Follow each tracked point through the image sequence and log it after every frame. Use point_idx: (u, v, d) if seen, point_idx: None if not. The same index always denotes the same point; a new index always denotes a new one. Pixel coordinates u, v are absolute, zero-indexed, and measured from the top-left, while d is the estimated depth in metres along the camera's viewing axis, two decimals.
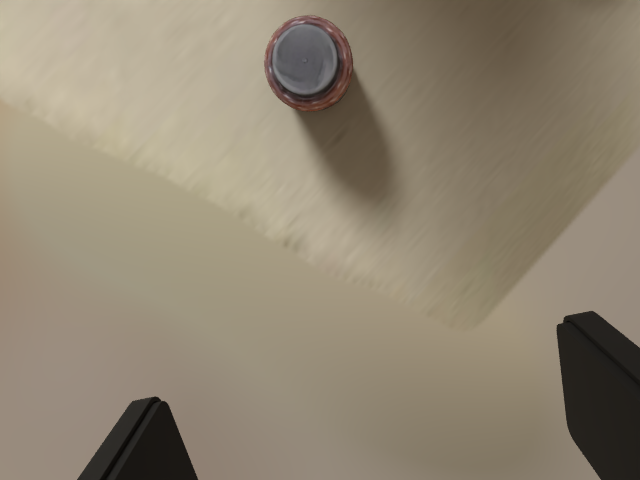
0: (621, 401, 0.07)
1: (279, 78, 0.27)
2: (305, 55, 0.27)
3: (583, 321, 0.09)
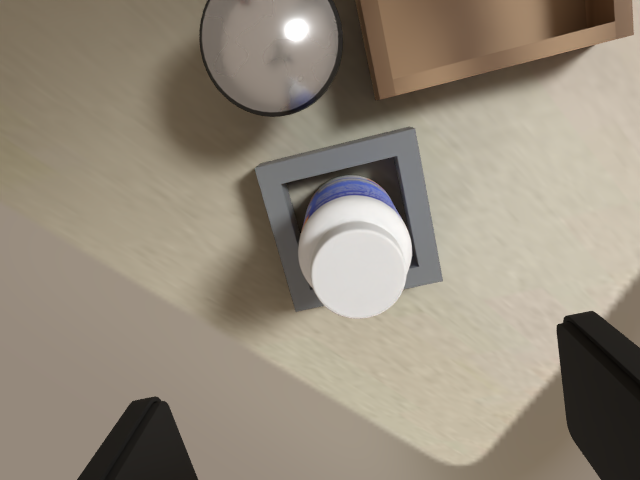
0: (621, 401, 0.07)
1: None
2: None
3: (583, 321, 0.09)
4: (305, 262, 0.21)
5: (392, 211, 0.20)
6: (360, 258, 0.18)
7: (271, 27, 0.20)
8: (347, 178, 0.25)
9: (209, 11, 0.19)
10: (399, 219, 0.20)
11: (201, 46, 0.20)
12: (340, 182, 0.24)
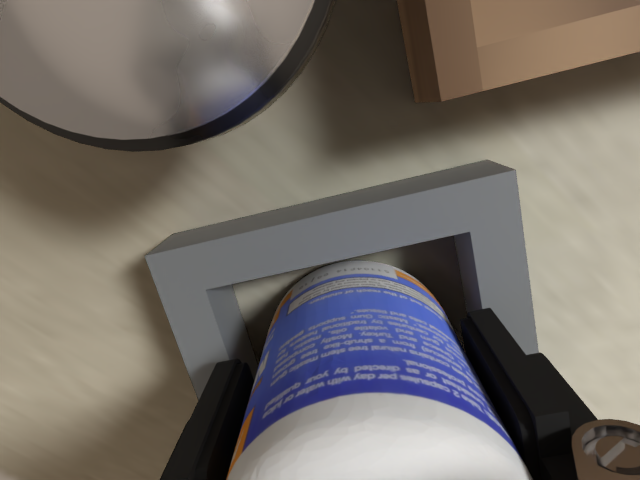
0: (492, 385, 0.09)
1: None
2: None
3: (478, 316, 0.10)
4: None
5: (502, 457, 0.06)
6: None
7: None
8: (354, 277, 0.11)
9: None
10: None
11: None
12: (338, 294, 0.10)
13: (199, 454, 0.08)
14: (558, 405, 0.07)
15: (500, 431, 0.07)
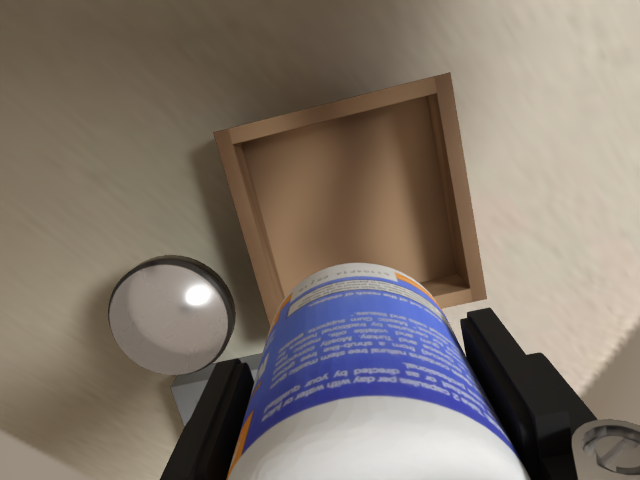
0: (492, 385, 0.09)
1: None
2: None
3: (478, 316, 0.10)
4: None
5: (502, 460, 0.06)
6: None
7: (169, 312, 0.23)
8: (354, 280, 0.11)
9: (115, 300, 0.23)
10: None
11: (110, 322, 0.23)
12: (338, 297, 0.10)
13: (199, 454, 0.08)
14: (557, 406, 0.07)
15: (500, 435, 0.07)
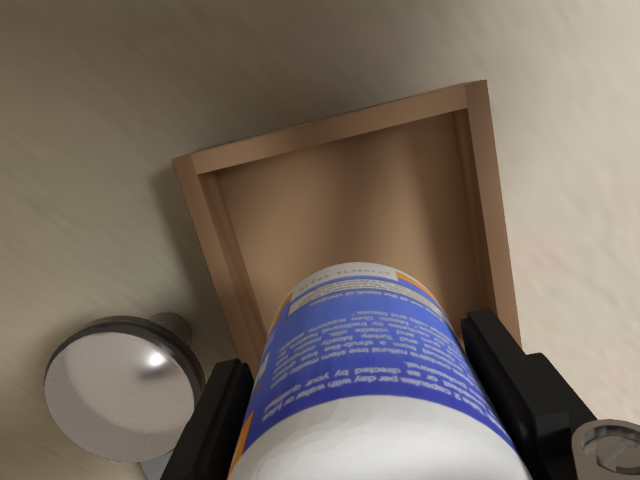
0: (492, 385, 0.09)
1: None
2: None
3: (478, 316, 0.10)
4: None
5: (504, 460, 0.06)
6: None
7: (118, 390, 0.18)
8: (354, 279, 0.11)
9: (50, 375, 0.18)
10: None
11: None
12: (338, 296, 0.10)
13: (199, 454, 0.08)
14: (558, 405, 0.07)
15: (502, 434, 0.07)
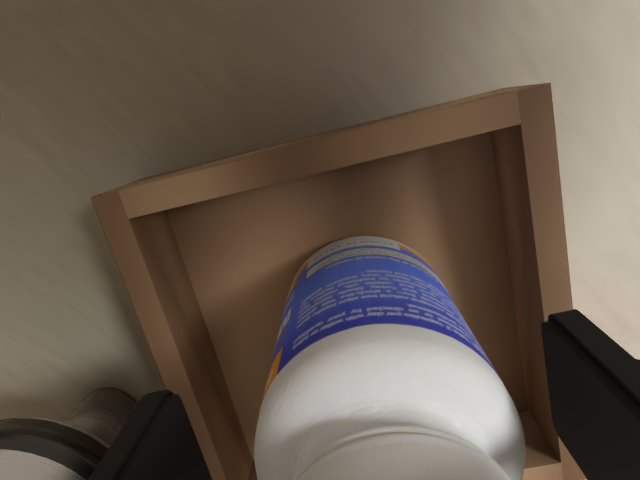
0: (599, 396, 0.08)
1: None
2: None
3: (566, 319, 0.09)
4: None
5: (483, 370, 0.08)
6: None
7: None
8: (362, 248, 0.13)
9: None
10: (501, 390, 0.08)
11: None
12: (350, 260, 0.12)
13: None
14: None
15: (483, 357, 0.09)
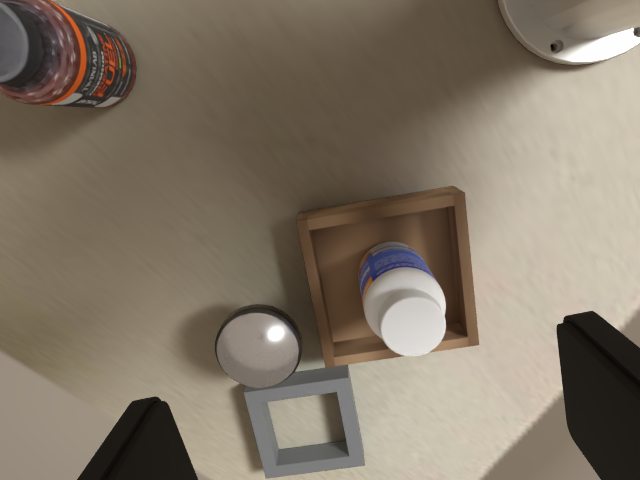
0: (621, 401, 0.07)
1: None
2: None
3: (583, 321, 0.09)
4: (370, 313, 0.29)
5: (434, 281, 0.29)
6: (416, 316, 0.27)
7: (259, 345, 0.33)
8: (394, 246, 0.34)
9: (222, 335, 0.33)
10: (439, 287, 0.29)
11: (215, 349, 0.33)
12: (390, 250, 0.33)
13: None
14: None
15: (435, 279, 0.30)
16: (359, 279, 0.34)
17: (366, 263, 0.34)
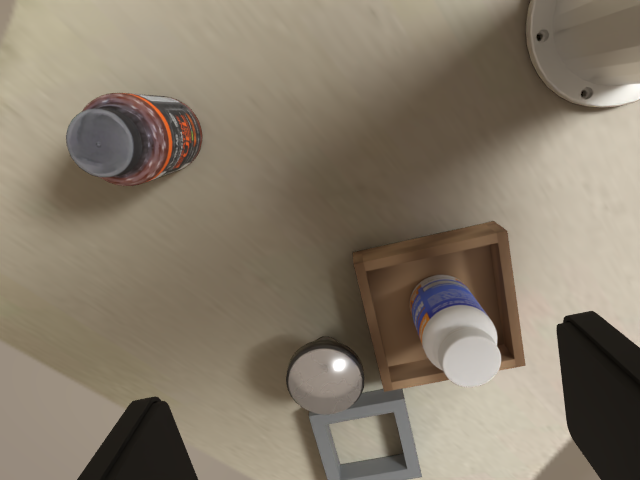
0: (621, 401, 0.07)
1: (77, 116, 0.26)
2: (103, 144, 0.26)
3: (583, 321, 0.09)
4: (429, 348, 0.33)
5: (486, 316, 0.32)
6: (474, 352, 0.30)
7: (326, 377, 0.36)
8: (443, 280, 0.37)
9: (293, 370, 0.36)
10: (490, 321, 0.32)
11: (287, 382, 0.37)
12: (440, 285, 0.36)
13: None
14: None
15: (486, 314, 0.33)
16: (412, 312, 0.38)
17: (418, 297, 0.37)
